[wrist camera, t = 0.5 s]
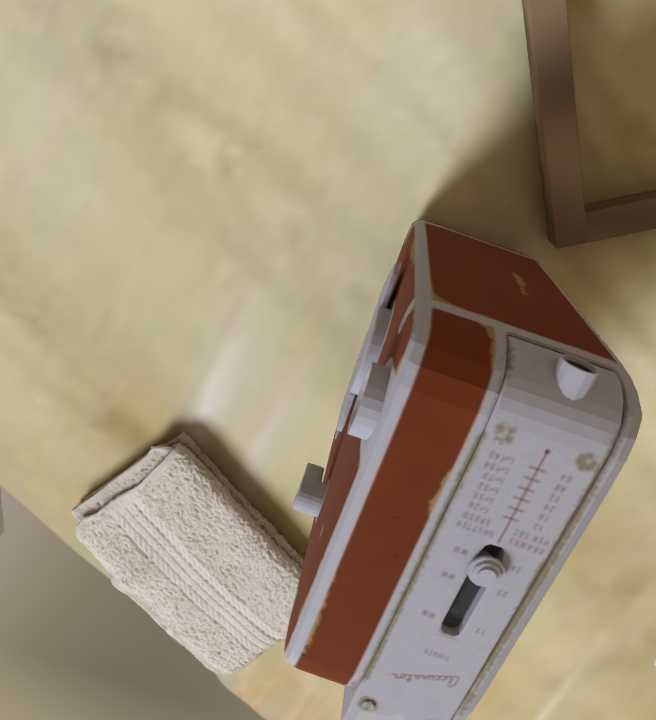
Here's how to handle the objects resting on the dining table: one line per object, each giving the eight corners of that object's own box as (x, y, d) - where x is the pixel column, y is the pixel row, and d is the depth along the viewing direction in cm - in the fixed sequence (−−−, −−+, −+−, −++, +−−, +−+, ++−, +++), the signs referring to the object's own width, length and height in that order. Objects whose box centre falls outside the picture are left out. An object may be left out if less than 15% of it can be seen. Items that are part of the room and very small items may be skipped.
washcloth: (180, 417, 41) (163, 440, 38) (350, 592, 45) (346, 625, 42) (71, 503, 45) (48, 529, 42) (235, 657, 49) (225, 691, 46)
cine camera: (296, 479, 41) (202, 776, 23) (395, 199, 34) (372, 308, 15) (425, 524, 41) (434, 856, 23) (554, 253, 34) (722, 429, 15)
